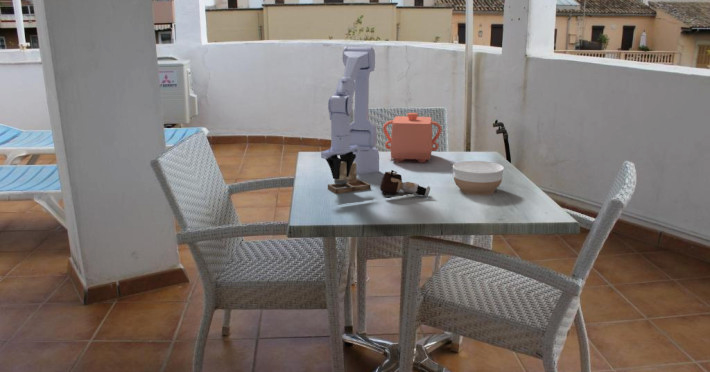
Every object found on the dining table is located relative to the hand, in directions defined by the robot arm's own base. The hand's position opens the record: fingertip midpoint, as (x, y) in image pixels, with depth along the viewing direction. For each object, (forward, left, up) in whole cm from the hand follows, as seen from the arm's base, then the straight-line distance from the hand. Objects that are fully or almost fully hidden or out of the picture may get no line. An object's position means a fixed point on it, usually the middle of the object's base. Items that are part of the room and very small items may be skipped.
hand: (340, 177), depth 189 cm
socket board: (-3, 0, -5) cm, 6 cm away
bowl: (-40, +17, -5) cm, 44 cm away
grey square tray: (-7, -7, -5) cm, 11 cm away
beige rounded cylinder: (0, 0, -2) cm, 2 cm away
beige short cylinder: (-7, -7, -4) cm, 11 cm away
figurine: (-16, +12, -5) cm, 21 cm away
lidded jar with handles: (-47, -34, -5) cm, 58 cm away
